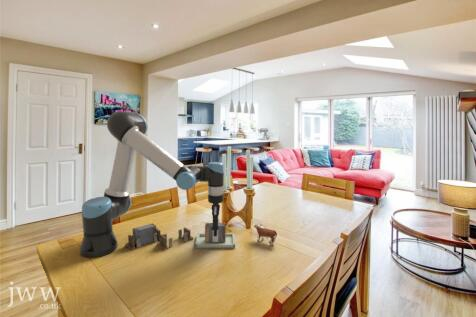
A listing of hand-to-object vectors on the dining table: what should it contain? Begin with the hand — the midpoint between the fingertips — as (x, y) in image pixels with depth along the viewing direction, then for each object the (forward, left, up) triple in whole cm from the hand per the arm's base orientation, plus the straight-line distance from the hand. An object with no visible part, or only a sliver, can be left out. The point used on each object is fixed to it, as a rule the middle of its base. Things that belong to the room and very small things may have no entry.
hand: (215, 239), depth 124 cm
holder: (-26, +22, -1) cm, 35 cm away
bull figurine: (+19, -16, -2) cm, 25 cm away
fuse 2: (0, 0, 0) cm, 0 cm away
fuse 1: (-26, +22, -1) cm, 35 cm away
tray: (0, 0, -1) cm, 1 cm away
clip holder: (-15, +13, -1) cm, 20 cm away
